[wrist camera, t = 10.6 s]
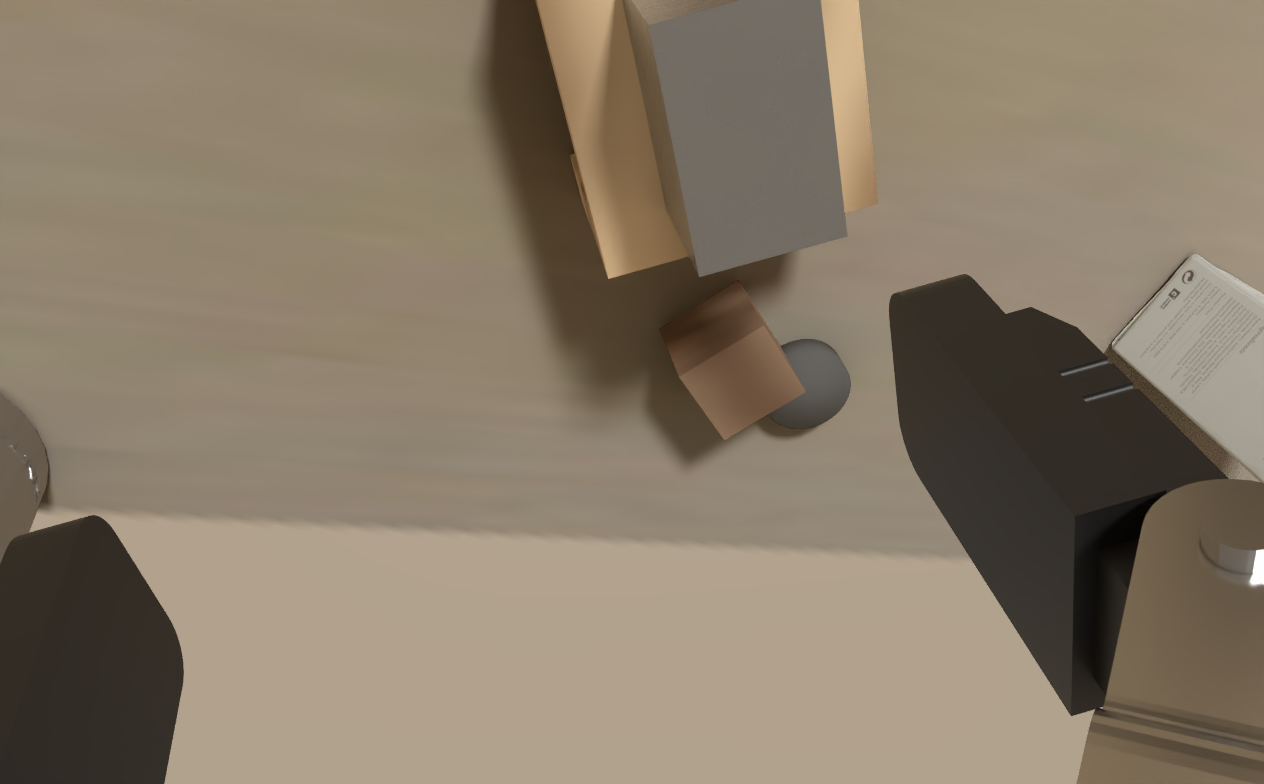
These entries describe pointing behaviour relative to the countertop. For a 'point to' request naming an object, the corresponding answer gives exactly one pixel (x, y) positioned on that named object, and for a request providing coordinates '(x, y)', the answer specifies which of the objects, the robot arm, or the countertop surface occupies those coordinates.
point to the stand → (620, 137)
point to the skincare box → (1206, 355)
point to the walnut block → (731, 361)
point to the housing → (740, 125)
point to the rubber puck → (814, 385)
